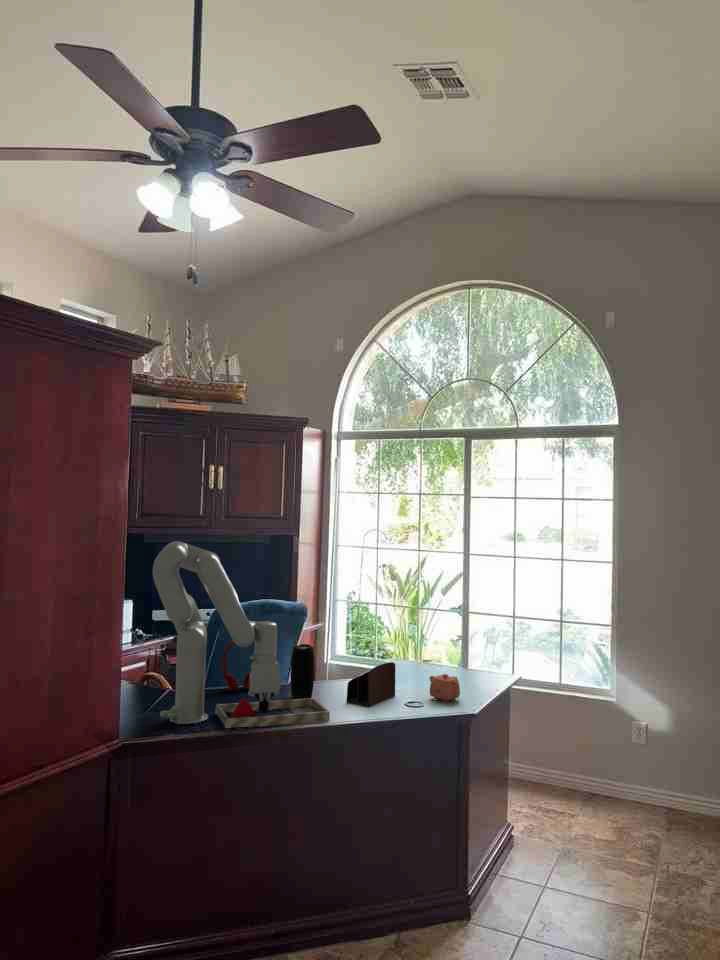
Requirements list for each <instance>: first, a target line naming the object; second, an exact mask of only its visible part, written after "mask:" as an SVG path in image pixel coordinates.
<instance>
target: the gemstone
mask: <svg viewBox="0 0 720 960" xmlns="http://www.w3.org/2000/svg"><path fill="white" fill-rule="evenodd" d="M237 703H238V705H237V707H236V709H235V711H234V712H233V713H231V717H230V718H240V717H257V716H256V713H255V712H254V710H253V709H252V707H251V706H250V705H249V703H250V702H248V701H247V700H246V699H245V698H240V700H239V701H238V702H237Z"/></svg>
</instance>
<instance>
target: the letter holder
mask: <svg viewBox="0 0 720 960" xmlns="http://www.w3.org/2000/svg"><path fill="white" fill-rule="evenodd" d="M346 688H347V689H346V702H347V703H346V704H349V703H352V704H351V705H354V704H355V705H354V706H359V705H360V706H359V707H365V708H371V707H373V706H375V705H378V704H380V703H382V701H383V702H385V701H387V700H389V698H390V699H392V698H394V697H396V663H395V662H391V661H390V662H384V663H380V664H378V665H377V666H375V667H372V668H371V669H369V670H368V671H366V672H365V673H363V674H361V675H357V676H356V677H354V678H352V679H351V680H349V681H348V682H347V686H346ZM393 696H394V697H393Z"/></svg>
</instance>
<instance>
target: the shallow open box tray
mask: <svg viewBox="0 0 720 960" xmlns="http://www.w3.org/2000/svg"><path fill="white" fill-rule="evenodd" d="M238 703H239V702H234V703H232V702H231V703H216V704H215V715H216V714H217V715H218V717H219V718H220V720H221V721H222V723H223V724H224V726H225V728H231V727H248V728H257V726H259V727H268V726H279V725H280V726H282V725H292V724H303V723H304V722H305V723H314V721H317V722H327V720H329V721H330V715H331V714H330V710H329V709H327V708H326V707H325V706H324V705H323V704H321V702H320V701H318V700H317V699H316V698H315V697H312V698H304V699H284V700H283V699H282V700H280V699H279V700H270V701H269V704H268V710H269V711H273V710H272V709H282V710H286V709H285V708H288V709H287V710H288V711H290V713H289V714H287V713H286V714H274V715H263V716H256V717H240V718H231V717H230V718H229V717H228V714H225V712H226V713H227V712H234V711H235V709H236V707H237V705H238ZM248 703H249V705H250V706H251V707H252V709H253V710H254V711H256V710H259V701H256V702H248ZM256 712H257V711H256ZM217 715H216V716H217ZM218 717H217V718H218ZM220 720H219V721H220ZM325 720H326V721H325ZM222 723H221V724H222ZM305 723H304V724H305ZM224 726H223V727H224ZM255 726H256V727H255ZM225 728H224V729H225Z"/></svg>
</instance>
